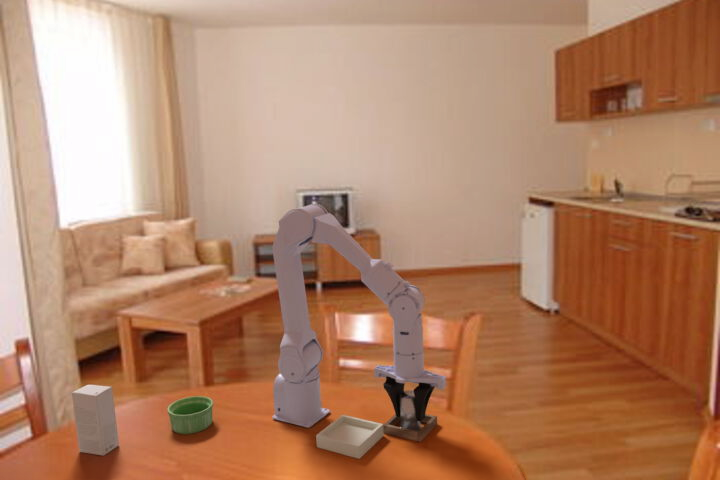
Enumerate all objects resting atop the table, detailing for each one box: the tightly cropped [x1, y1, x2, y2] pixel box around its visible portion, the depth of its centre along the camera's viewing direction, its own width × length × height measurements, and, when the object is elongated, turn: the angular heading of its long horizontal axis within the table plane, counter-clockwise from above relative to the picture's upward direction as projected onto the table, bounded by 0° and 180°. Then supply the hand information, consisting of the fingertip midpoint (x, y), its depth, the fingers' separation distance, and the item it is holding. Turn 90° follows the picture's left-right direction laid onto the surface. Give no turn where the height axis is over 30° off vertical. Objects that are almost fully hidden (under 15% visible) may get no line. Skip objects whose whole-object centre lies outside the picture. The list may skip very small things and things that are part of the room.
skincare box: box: [71, 384, 120, 456], centre depth 107 cm, size 6×4×12 cm
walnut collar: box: [383, 413, 438, 443], centre depth 111 cm, size 8×8×2 cm
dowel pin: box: [399, 389, 422, 432], centre depth 110 cm, size 4×4×7 cm
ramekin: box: [167, 395, 214, 435], centre depth 116 cm, size 9×9×4 cm
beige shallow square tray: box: [315, 414, 385, 460], centre depth 106 cm, size 9×9×2 cm
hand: (410, 416), depth 110 cm, fingers closed on dowel pin, 4 cm apart
